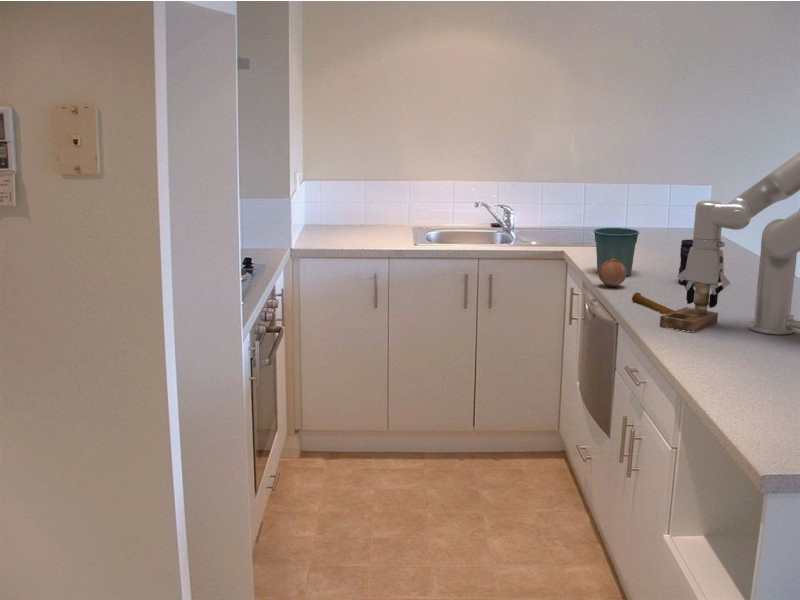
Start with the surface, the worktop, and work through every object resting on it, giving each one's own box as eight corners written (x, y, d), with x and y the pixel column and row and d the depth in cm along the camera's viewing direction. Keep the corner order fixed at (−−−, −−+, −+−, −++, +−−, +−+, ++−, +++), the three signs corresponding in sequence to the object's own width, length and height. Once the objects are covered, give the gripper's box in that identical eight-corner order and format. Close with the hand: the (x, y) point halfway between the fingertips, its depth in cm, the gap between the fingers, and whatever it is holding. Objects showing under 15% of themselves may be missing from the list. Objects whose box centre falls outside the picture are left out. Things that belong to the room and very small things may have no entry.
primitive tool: (680, 315, 288) (681, 304, 287) (666, 317, 286) (666, 305, 285) (639, 302, 305) (640, 291, 304) (625, 303, 303) (626, 293, 302)
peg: (710, 313, 276) (713, 279, 274) (704, 315, 274) (706, 281, 271) (697, 310, 279) (699, 277, 277) (690, 313, 276) (693, 279, 274)
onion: (616, 283, 331) (618, 255, 328) (630, 289, 322) (632, 260, 320) (592, 285, 328) (593, 256, 325) (606, 290, 319) (608, 261, 317)
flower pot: (607, 280, 336) (609, 235, 332) (582, 271, 351) (584, 228, 347) (645, 277, 342) (648, 233, 338) (619, 268, 357) (622, 226, 353)
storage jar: (713, 284, 330) (716, 242, 326) (694, 288, 324) (698, 245, 321) (690, 279, 338) (693, 238, 334) (671, 282, 332) (674, 240, 329)
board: (717, 322, 278) (718, 312, 277) (692, 332, 266) (693, 322, 265) (685, 316, 284) (686, 307, 284) (659, 326, 273) (660, 316, 272)
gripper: (741, 246, 269) (735, 307, 273) (684, 239, 280) (679, 298, 284) (729, 249, 263) (724, 312, 267) (672, 242, 275) (667, 302, 279)
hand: (701, 304), depth 276 cm, fingers open, 6 cm apart
